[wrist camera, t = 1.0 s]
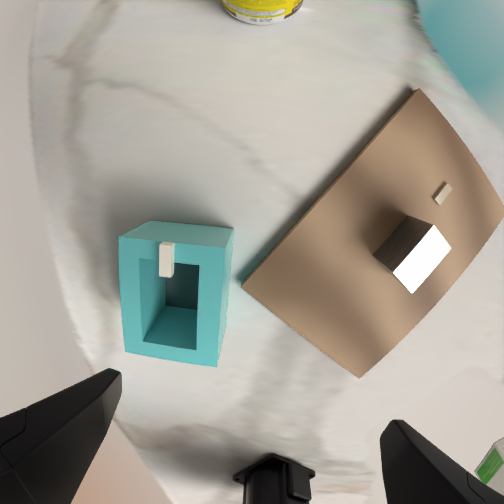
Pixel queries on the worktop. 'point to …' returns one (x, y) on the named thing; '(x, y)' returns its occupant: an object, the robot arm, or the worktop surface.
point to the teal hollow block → (154, 290)
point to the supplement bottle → (262, 10)
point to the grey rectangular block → (412, 252)
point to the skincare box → (493, 467)
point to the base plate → (378, 239)
